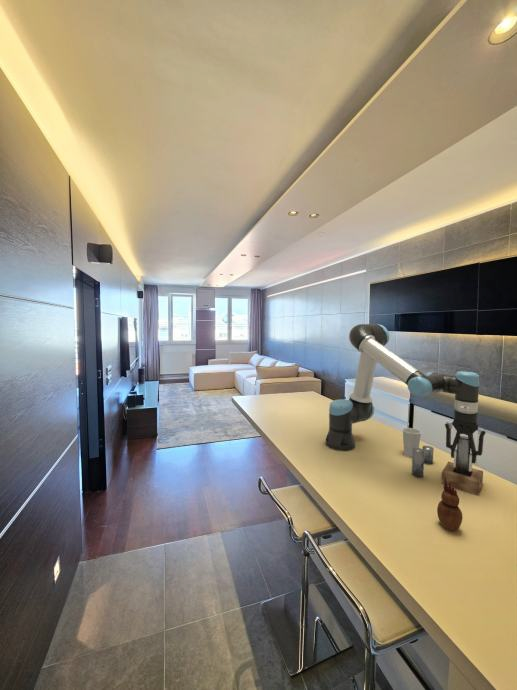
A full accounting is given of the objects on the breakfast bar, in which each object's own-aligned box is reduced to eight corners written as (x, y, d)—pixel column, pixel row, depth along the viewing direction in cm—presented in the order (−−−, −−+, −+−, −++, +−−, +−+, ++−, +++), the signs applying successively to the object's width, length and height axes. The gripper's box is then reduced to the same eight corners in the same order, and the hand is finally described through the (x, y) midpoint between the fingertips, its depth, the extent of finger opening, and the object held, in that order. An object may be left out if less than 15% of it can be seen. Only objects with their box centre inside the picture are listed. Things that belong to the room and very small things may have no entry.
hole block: (441, 483, 118) (441, 471, 118) (447, 472, 127) (448, 461, 127) (478, 495, 110) (479, 482, 110) (482, 483, 119) (483, 471, 119)
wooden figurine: (433, 519, 97) (435, 475, 96) (449, 518, 97) (451, 474, 96) (447, 534, 90) (450, 487, 89) (465, 533, 90) (468, 486, 89)
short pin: (420, 462, 137) (421, 447, 136) (423, 459, 140) (424, 444, 139) (431, 465, 134) (432, 450, 133) (434, 462, 137) (434, 447, 136)
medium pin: (410, 475, 125) (411, 450, 124) (413, 471, 128) (414, 446, 128) (421, 478, 122) (422, 453, 121) (424, 474, 125) (425, 449, 125)
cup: (422, 458, 140) (423, 434, 139) (404, 457, 142) (405, 433, 141) (417, 451, 148) (418, 428, 147) (399, 450, 150) (400, 427, 149)
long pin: (454, 476, 118) (456, 438, 117) (456, 472, 122) (458, 435, 120) (467, 480, 115) (470, 441, 114) (469, 476, 119) (471, 437, 117)
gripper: (438, 408, 120) (435, 464, 121) (492, 418, 108) (489, 479, 110) (442, 404, 125) (439, 458, 127) (494, 413, 113) (491, 472, 115)
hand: (462, 467), depth 118 cm, fingers closed on long pin, 4 cm apart
